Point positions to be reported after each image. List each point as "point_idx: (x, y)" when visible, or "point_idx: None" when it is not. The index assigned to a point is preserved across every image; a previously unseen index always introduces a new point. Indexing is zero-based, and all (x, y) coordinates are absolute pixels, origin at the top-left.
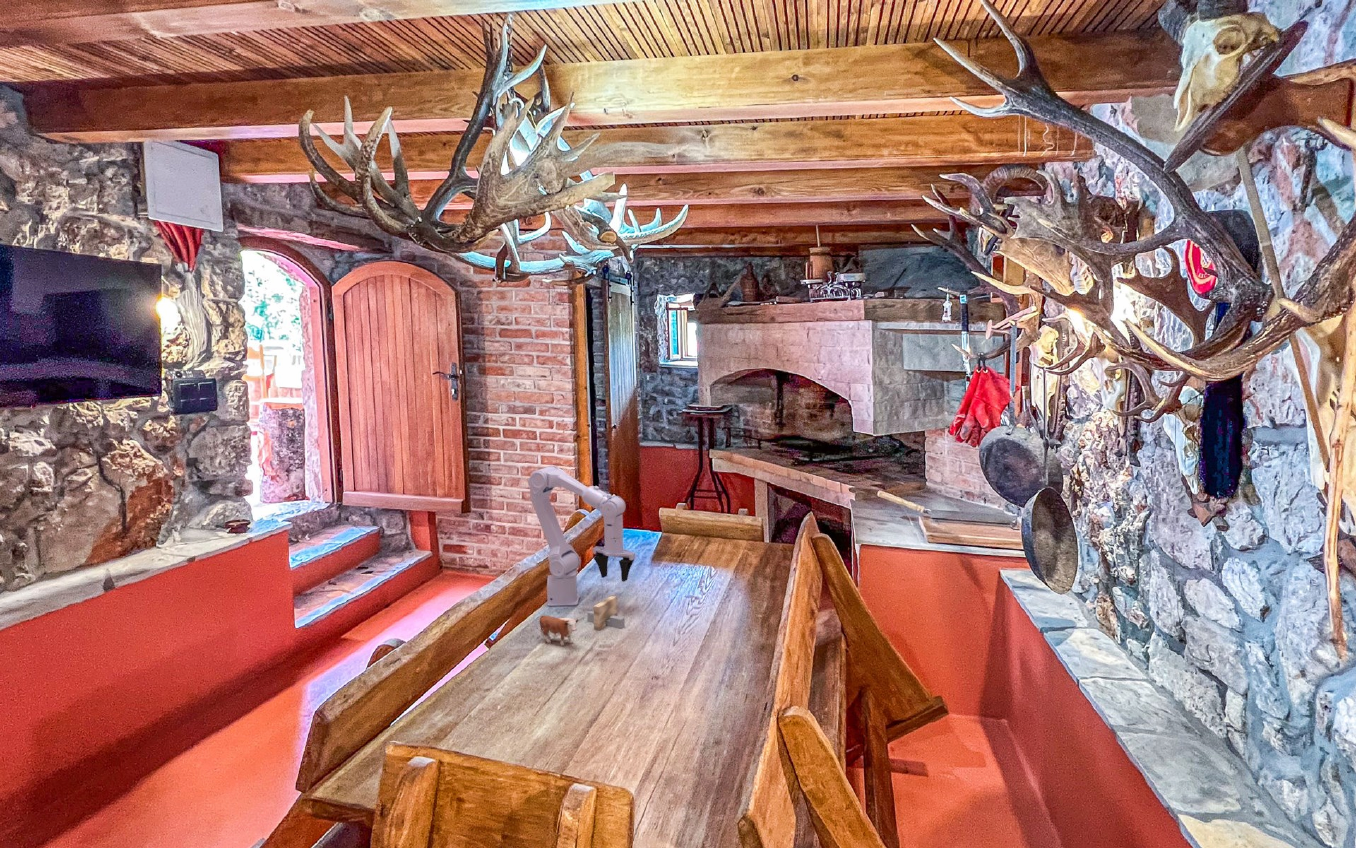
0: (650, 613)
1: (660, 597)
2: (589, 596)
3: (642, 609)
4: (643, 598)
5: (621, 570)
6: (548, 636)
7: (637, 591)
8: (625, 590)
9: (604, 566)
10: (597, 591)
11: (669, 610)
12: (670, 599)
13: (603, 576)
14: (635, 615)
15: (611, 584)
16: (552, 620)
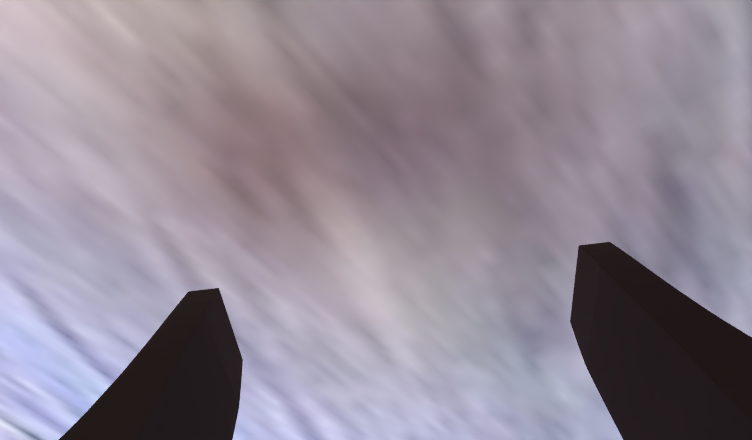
0: (67, 208)
1: (259, 423)
2: (731, 198)
3: (185, 231)
4: (338, 365)
5: (128, 435)
6: None
7: (453, 416)
8: (534, 392)
9: (662, 426)
10: (713, 294)
11: (20, 318)
12: None
13: (585, 263)
14: (120, 107)
15: None
16: None
